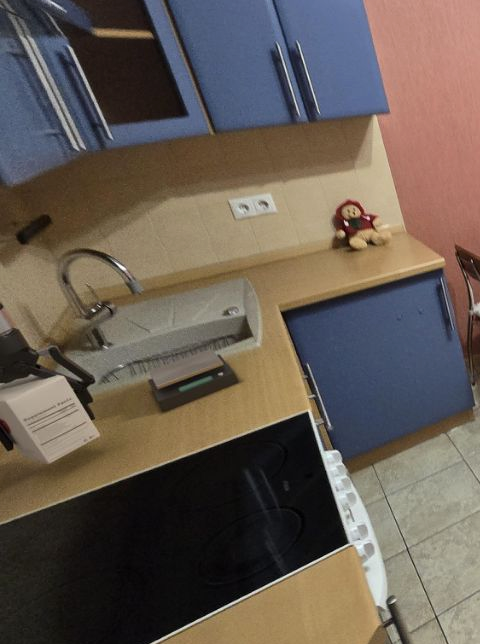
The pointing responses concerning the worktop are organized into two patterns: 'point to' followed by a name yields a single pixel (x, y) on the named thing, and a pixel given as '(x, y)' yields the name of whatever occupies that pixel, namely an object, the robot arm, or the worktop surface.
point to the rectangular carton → (44, 418)
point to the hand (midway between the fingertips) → (52, 432)
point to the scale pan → (185, 368)
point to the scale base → (194, 386)
